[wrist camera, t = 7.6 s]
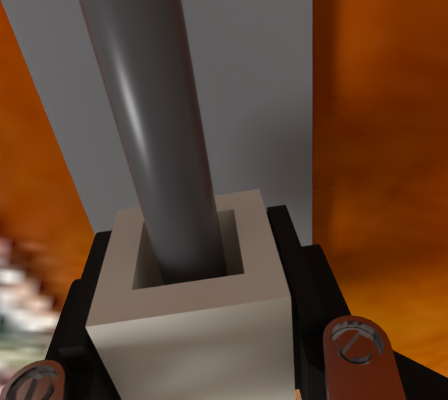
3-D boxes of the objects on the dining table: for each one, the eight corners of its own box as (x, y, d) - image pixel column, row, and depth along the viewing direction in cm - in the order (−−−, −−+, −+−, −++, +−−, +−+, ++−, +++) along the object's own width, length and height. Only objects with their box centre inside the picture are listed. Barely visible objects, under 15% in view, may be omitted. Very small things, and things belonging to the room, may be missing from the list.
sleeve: (118, 209, 11) (85, 327, 7) (259, 188, 11) (291, 296, 7) (150, 306, 13) (137, 429, 10) (267, 288, 13) (295, 406, 10)
